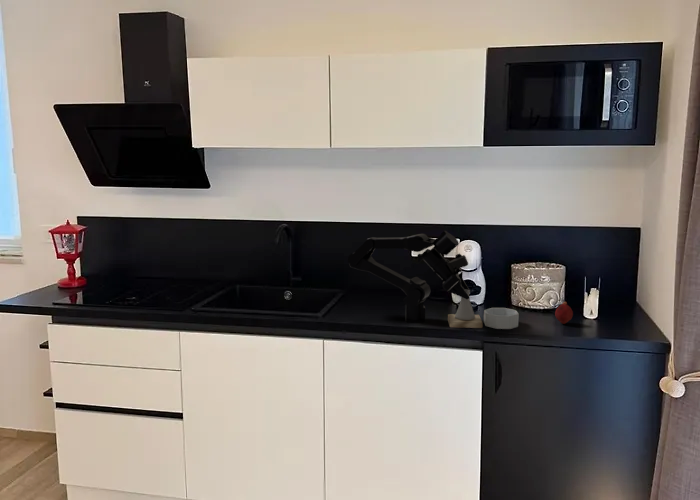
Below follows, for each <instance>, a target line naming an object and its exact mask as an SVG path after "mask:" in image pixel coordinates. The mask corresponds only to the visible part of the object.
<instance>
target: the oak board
mask: <svg viewBox="0 0 700 500" xmlns="http://www.w3.org/2000/svg"><path fill="white" fill-rule="evenodd" d="M455 315H456V313H455V314H454V313H451V314H447V321H448V325H449V327H450V328H459V329H460V328H463V329H465V328H467V329H470V328H472V329H483V323H484V321H483V320H482V318H481V317H480V314H474V315H475V319H472V320H460V319H456V318H455Z"/></svg>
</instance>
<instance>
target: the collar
mask: <svg viewBox="0 0 700 500" xmlns="http://www.w3.org/2000/svg"><path fill="white" fill-rule="evenodd" d="M519 317H520V316H519V312H518V311H517V310H516V309H512V308H508V307H507V308H506V307H491V308H490V307H489V308H487V309H484V310H483V323H484V326H485V327H489V328H493V329H496V330H501V329H502V330H511V329H515V328H518V327H519Z"/></svg>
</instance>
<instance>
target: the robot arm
mask: <svg viewBox="0 0 700 500" xmlns="http://www.w3.org/2000/svg"><path fill="white" fill-rule="evenodd" d="M459 244H460V243H459V241H458V239H457V238H456V237H455V236H454V235H453V234H451V233H449V232H448V231H447V230H443V231H442V232H441V233H440V235H439V236H437V237H436V238H433V237H429V236H427V234H426V233H418V234H412V235H409V236H403V237H375V236H372V237H369V238H366V240H365V241H364V242H363V244H362V245H360V246H359V247H358V248H357V249H356V250H355V251H354V252H352V253H350V254H349V255H348V257H347V263H348V266H349V267H350V268H352V269H355V270H358V271H362V272H368V273H371V274H372V275H374V276H376V277H378V278H380V279H382V280H384V281H385V282H387V283H389V284H391V285H392V286H395V287H396V288H399V289H401V291H403V293H404V294H405V295H406V296H405V297H404V298H403V299H402V301H403V305H404V306H405V317H404V318H405V322H407V323H408V322H410V323H411V322H412V323H413V322H414V323H415V322H416V323H417V322H418V323H424V322H425V319H426V306H425V305H424V302H425V301H426V299H427V298H428V297H429V296H430V295H431V287H430V285H429V284H428V283H427V281H426V280H424V279H421V278H419V277H418V276H415V277H412V278H408V277H406V276H405V275H402V274H400V273H399V272H397V271H395V270H392V269H390V268H389V267H387V266H386V265H383V264H381V263H380V262H377V261H376V260H375V259H374V258H373V256H372V254H374V251H375V250H376V249H377V250H378V249H382V250H383V249H403V250H407V251H410V252H416V253H417V255H416V256H417V261H416V262H417V264H419V263H421V262H422V261H424V262H425V263H426V264H427V266H429V268H431V270H432V271H433V273H434V275H437V276H438V277H439V278H440V279H441V281H442V285H441V286H442V289H443V290H444V291H445V292H447V293H451V294H454V295H456V296H459V297H460V298H461V297H463V298H465V299H469V298H470V295H469V296H468V294H467V293H466V291H465V290H470V288H469V287H468V285H467V284H466V282H465V280H464V278H463V271H462V270H463V269H462V268H464V267H467V266H469V261H468V259H467V257H466V255H465V254H463V255H462V254H461V253H457V254H455V258H454V259H452V260H449V259H448V258H445V257H444V256H448V255H449V254H450V253H451V252H452V251H453V250H454V249H455V248H457V247H458V246H459ZM431 247H432V248H431ZM429 248H431V249H429ZM421 251H423V252H422V253H419V252H421ZM464 289H465V290H464Z"/></svg>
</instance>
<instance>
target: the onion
mask: <svg viewBox="0 0 700 500" xmlns="http://www.w3.org/2000/svg"><path fill="white" fill-rule="evenodd" d="M554 315H555V319H556V320H557V321H559V322H560V323H561V325H562V324H563V325H565V324H567V323H568V322H570V321H571V320H572V318H573V316H574V311H573V310H572V308H571V306H569V305H568V303H567V301H564V302H562V303H561V304H559V306H558V307H557V308H556V309H555V312H554Z"/></svg>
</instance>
